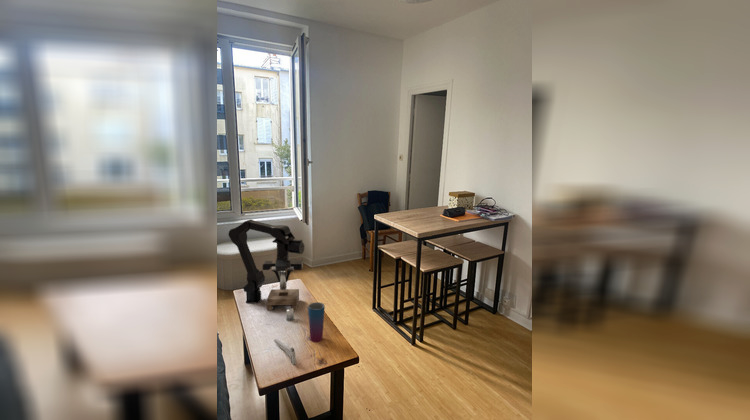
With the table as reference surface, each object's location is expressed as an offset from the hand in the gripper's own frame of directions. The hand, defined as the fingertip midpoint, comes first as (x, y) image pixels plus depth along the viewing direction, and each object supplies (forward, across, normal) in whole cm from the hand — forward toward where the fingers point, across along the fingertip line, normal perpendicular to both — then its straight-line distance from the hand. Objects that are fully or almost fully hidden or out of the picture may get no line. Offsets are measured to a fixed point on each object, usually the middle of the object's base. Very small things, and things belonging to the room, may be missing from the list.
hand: (283, 281), depth 184 cm
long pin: (+4, 0, 0) cm, 4 cm away
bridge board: (+12, 0, 0) cm, 12 cm away
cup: (+12, +18, -33) cm, 40 cm away
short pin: (+12, +5, -15) cm, 20 cm away
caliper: (+13, +6, -42) cm, 44 cm away
